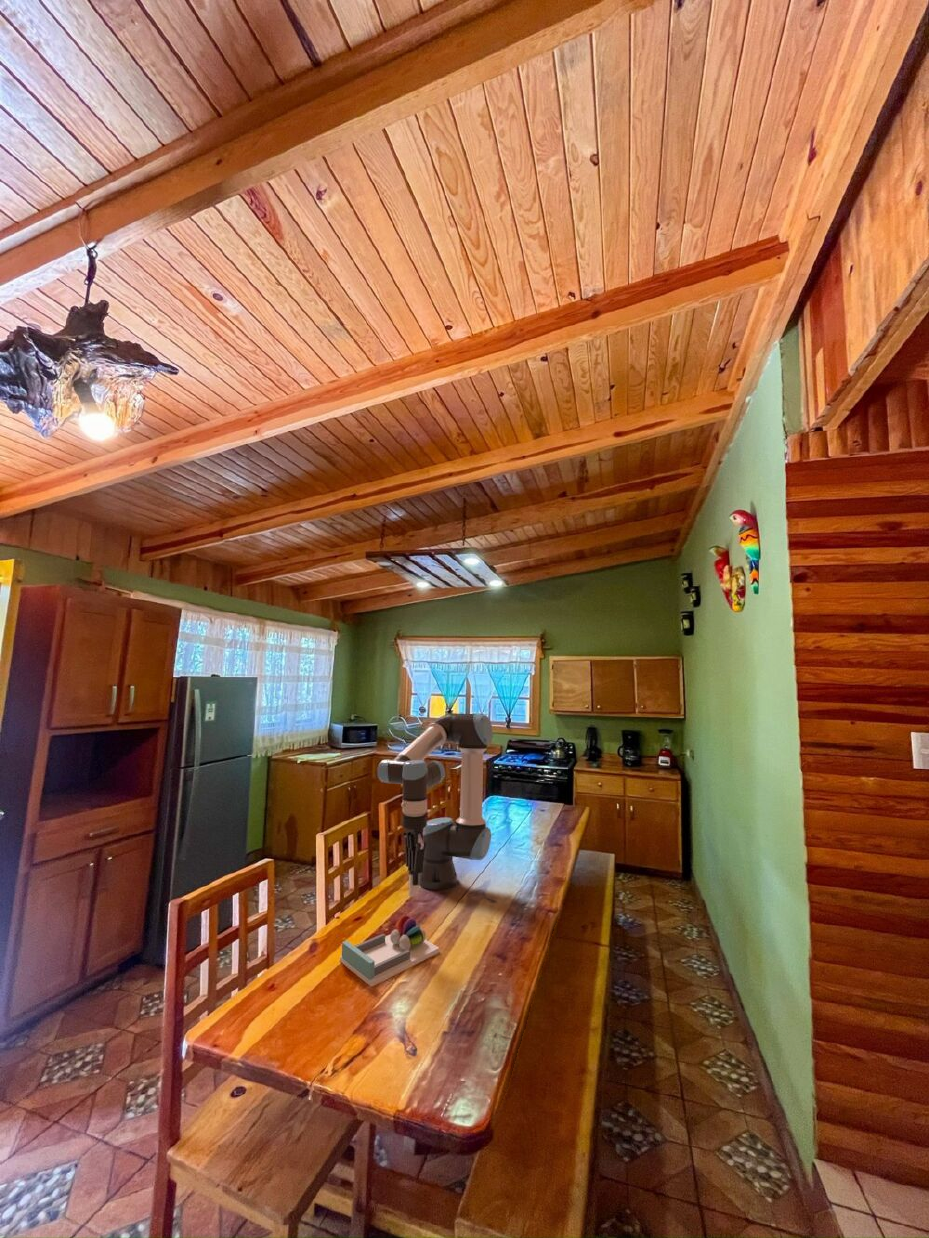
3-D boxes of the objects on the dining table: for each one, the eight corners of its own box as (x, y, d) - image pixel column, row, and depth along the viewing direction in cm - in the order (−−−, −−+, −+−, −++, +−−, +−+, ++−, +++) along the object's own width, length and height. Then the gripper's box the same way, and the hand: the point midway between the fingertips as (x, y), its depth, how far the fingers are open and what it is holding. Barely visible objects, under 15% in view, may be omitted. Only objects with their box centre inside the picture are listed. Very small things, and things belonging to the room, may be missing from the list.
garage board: (405, 931, 151) (406, 914, 152) (439, 952, 140) (439, 932, 141) (339, 960, 136) (340, 941, 136) (371, 986, 124) (371, 964, 125)
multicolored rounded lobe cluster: (409, 932, 149) (409, 907, 150) (429, 944, 142) (430, 918, 143) (386, 942, 143) (387, 916, 144) (406, 956, 136) (407, 928, 137)
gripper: (395, 809, 152) (394, 889, 149) (410, 820, 141) (410, 906, 138) (417, 806, 156) (417, 884, 153) (434, 816, 144) (434, 901, 141)
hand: (413, 894), depth 145 cm, fingers closed
